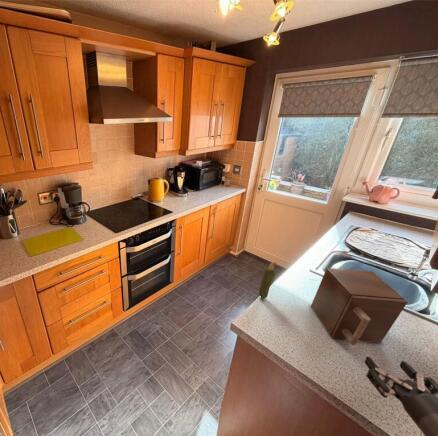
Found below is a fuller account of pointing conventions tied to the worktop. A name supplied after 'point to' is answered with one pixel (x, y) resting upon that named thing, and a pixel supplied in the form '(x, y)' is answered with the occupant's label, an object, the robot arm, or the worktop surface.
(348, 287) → the cupboard
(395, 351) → the worktop surface
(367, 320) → the shelf door
